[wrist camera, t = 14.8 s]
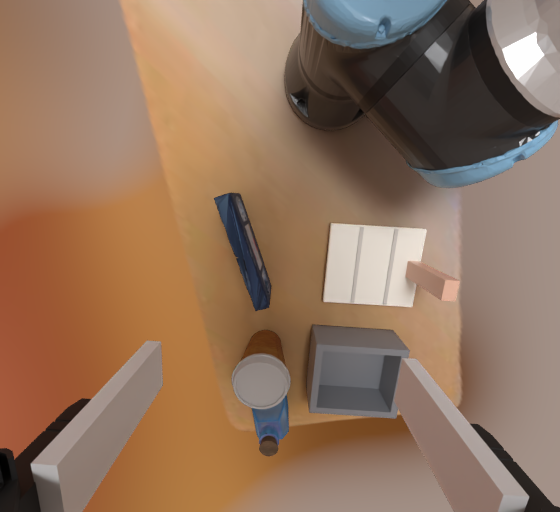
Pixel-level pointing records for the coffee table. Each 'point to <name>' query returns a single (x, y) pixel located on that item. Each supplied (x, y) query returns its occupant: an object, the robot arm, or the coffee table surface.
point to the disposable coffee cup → (262, 372)
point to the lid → (380, 266)
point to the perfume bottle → (271, 426)
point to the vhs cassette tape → (245, 248)
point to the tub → (354, 371)
